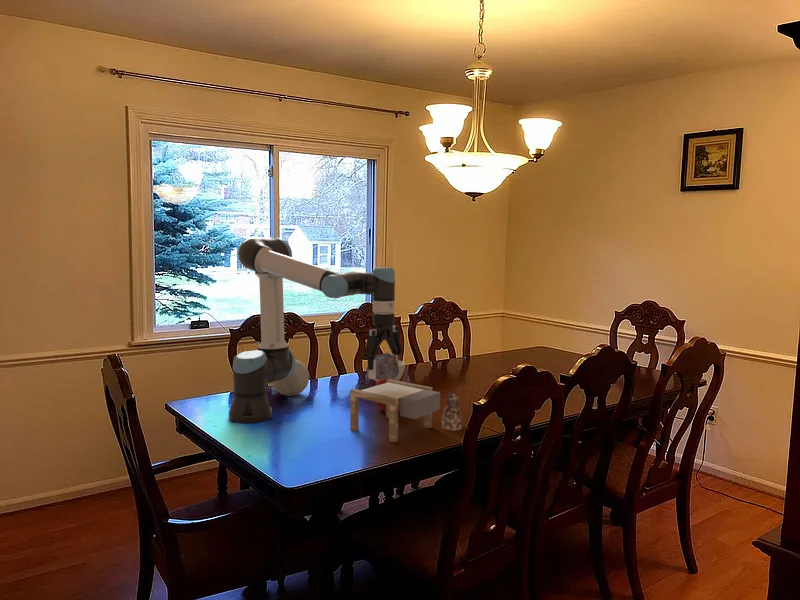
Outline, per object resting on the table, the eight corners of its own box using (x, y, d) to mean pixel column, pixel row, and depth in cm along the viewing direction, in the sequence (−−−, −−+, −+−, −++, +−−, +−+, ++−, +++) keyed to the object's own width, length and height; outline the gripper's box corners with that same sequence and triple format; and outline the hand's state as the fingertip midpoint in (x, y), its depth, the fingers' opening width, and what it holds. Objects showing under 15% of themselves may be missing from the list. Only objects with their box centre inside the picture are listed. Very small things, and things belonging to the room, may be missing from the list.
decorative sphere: (298, 401, 246) (298, 364, 244) (265, 397, 251) (264, 361, 249) (315, 392, 260) (315, 357, 259) (283, 389, 265) (283, 354, 263)
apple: (406, 410, 236) (406, 374, 234) (387, 416, 228) (387, 379, 227) (387, 405, 243) (387, 370, 241) (368, 410, 235) (368, 374, 234)
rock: (401, 367, 219) (393, 345, 214) (398, 386, 211) (389, 364, 206) (372, 371, 222) (364, 349, 217) (368, 390, 213) (359, 368, 208)
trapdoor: (412, 420, 197) (412, 401, 196) (358, 406, 211) (358, 389, 211) (441, 409, 210) (442, 391, 209) (388, 397, 224) (389, 380, 224)
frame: (393, 442, 200) (394, 399, 198) (350, 430, 211) (350, 390, 210) (431, 427, 216) (432, 387, 215) (389, 416, 228) (389, 379, 226)
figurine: (445, 431, 212) (446, 396, 211) (438, 424, 219) (439, 391, 217) (465, 429, 214) (466, 395, 213) (457, 423, 221) (458, 390, 219)
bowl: (410, 388, 270) (410, 365, 269) (375, 391, 264) (375, 368, 263) (397, 379, 285) (397, 358, 284) (363, 382, 279) (364, 360, 278)
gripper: (369, 317, 200) (369, 383, 203) (413, 310, 219) (412, 371, 221) (352, 315, 205) (352, 380, 207) (396, 308, 223) (395, 368, 226)
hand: (383, 375), depth 214 cm, fingers closed on rock, 11 cm apart
